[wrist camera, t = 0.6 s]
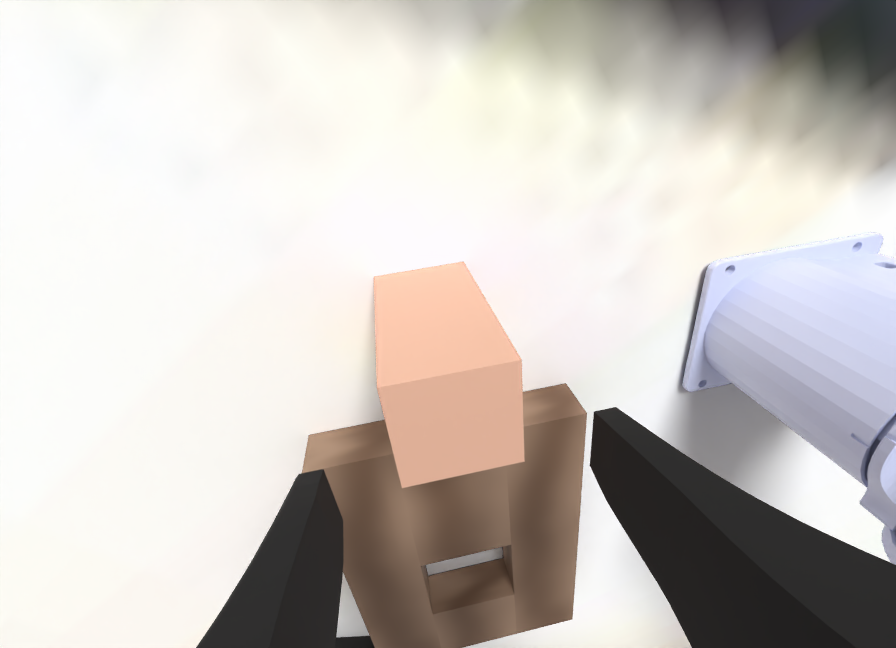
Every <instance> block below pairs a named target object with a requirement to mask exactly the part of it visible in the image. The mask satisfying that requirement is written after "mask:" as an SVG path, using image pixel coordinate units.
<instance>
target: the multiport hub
mask: <svg viewBox="0 0 896 648" xmlns="http://www.w3.org/2000/svg"><path fill="white" fill-rule="evenodd" d="M335 648H375V647H374V644H373V642H372V640H371V637H370V636H359V637H340V638H336V643H335Z"/></svg>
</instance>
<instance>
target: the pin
mask: <svg viewBox="0 0 896 648" xmlns="http://www.w3.org/2000/svg"><path fill="white" fill-rule="evenodd" d="M374 301H375V337H376V374H377V390H378V394H379V398H380V402H381V406H382V410H383V414H384V418H385V422H386V426H387V430H388V434H389V438H390V442H391V446H392V450H393V454H394V458H395V462H396V466H397V470H398V474H399V478H400V482H401V486H402V488H405V487H410V486H414V485H419V484H424V483H428V482H433V481H437V480H442V479H447V478H451V477H456V476H460V475H465V474H469V473H474V472H479V471H483V470H488V469H492V468H497V467H502V466H506V465H511V464H515V463H520V462H525V460H524V426H523V392H522V360H521V358H520V356H519V355H518V353H517V351H516V350H515V348H514V346H513V344H512V343H511V341H510V339H509V338H508V336H507V334H506V333H505V331H504V329H503V328H502V326H501V324H500V322H499V321H498V319H497V317H496V316H495V314H494V312H493V311H492V309H491V307H490V306H489V304H488V302H487V301H486V299H485V297H484V295H483V294H482V292H481V290H480V289H479V287H478V285H477V284H476V282H475V280H474V279H473V277H472V275H471V273H470V272H469V270H468V268H467V267H466V265H465V263H464V262H458V263H452V264H446V265H440V266H434V267H428V268H422V269H417V270H411V271H405V272H399V273H393V274H387V275H381V276H375V277H374Z"/></svg>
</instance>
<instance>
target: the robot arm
mask: <svg viewBox="0 0 896 648" xmlns="http://www.w3.org/2000/svg"><path fill="white" fill-rule="evenodd" d="M882 242H883V236H882V235H881V234H878V233H874V232H871V233H865V234H859V235H854V236H848V237H843V238H837V239H831V240H826V241H820V242H815V243H809V244H804V245H798V246H792V247H787V248H781V249H776V250H770V251H764V252H759V253H753V254H748V255H742V256H736V257H731V258H725V259H720V260H716V261H713V262H712V263H711V264H710V265H709V266H708V268H707V270H706V274H705V279H704V284H703V288H702V293H701V298H700V303H699V307H698V312H697V317H696V321H695V326H694V331H693V336H692V340H691V345H690V350H689V355H688V359H687V364H686V369H685V373H684V378H683V383H682V386H683V387H684V388H685V389H686V390H687V391H689V392H693V391H698V390H703V389H707V388H712V387H717V386H722V385H726V384H731V383H733V384H734V385H735V386H736V387H738V388H739V389H740V390H742V391H743V392H744V393H746V394H747V395H748V396H749V397H751V398H752V399H753V400H755V401H756V402H757V403H758V404H760V405H761V406H762V407H764V408H765V409H766V410H767V411H769V412H770V413H771V414H773V415H774V416H775V417H776V418H778V419H779V420H780V421H782V422H783V423H784V424H786V425H787V426H788V427H789V428H791V429H792V430H793V431H795V432H796V433H797V434H798V435H800V436H801V437H802V438H804V439H805V440H806V441H807V442H809V443H810V444H811V445H813V446H814V447H815V448H817V449H818V450H819V451H820V452H822V453H823V454H824V455H826V456H827V457H828V458H829V459H831V460H832V461H833V462H835V463H836V464H837V465H838V466H840V467H841V468H842V469H844V470H845V471H846V472H847V473H849V474H850V475H851V476H853V477H854V478H855V479H857V480H858V481H859V482H860V483H862V484H863V485H864V486H866V487H867V491H866V492H865V494H864V496H863V498H862V499H861V500H860V504H861V505H862V506H863V507H864V508H865V509H867V510H868V511H869V512H870V513H872V514H873V515H874V516H875V517H876V518H878V519H879V520H880V521H881V522H883V523H884V524H885V526H884V528H883V530H882V543H883V546H884V550H885V552H886V554H887V556H888V558H889V560H890V562H891V563H890V562H888V561H885V560H883V559H881V558H878V557H876V556H874V555H871V554H869V553H867V552H864V551H862V550H860V549H858V548H856V547H854V546H851V545H849V544H847V543H845V542H843V541H841V540H838V539H836V538H834V537H832V536H830V535H828V534H825V533H823V532H821V531H819V530H817V529H815V528H813V527H811V526H809V525H807V524H805V523H803V522H801V521H799V520H797V519H795V518H793V517H791V516H789V515H787V514H785V513H783V512H782V511H780V510H778V509H776V508H774V507H772V506H770V505H768V504H766V503H765V502H763V501H761V500H759V499H757V498H755V497H754V496H752V495H750V494H748V493H746V492H745V491H743V490H741V489H740V488H738V487H736V486H735V485H733V484H731V483H730V482H728V481H726V480H724V479H723V478H721V477H719V476H718V475H716V474H714V473H713V472H711V471H710V470H708V469H706V468H705V467H703V466H702V465H700V464H699V463H697V462H695V461H694V460H692V459H691V458H689V457H688V456H686V455H685V454H683V453H682V452H680V451H679V450H677V449H676V448H674V447H673V446H671V445H670V444H668V443H667V442H665V441H664V440H662V439H661V438H659V437H658V436H657V435H655V434H654V433H652V432H651V431H649V430H648V429H646V428H645V427H644V426H642V425H641V424H639V423H638V422H636V421H635V420H634V419H632V418H631V417H629V416H628V415H626V414H625V413H623V412H622V411H621V410H619V409H618V408H616V407H614V408H609V409H605V410H600V411H595V412H594V419H593V432H592V445H591V458H590V466H591V469H592V471H593V473H594V475H595V477H596V479H597V482H598V484H599V486H600V488H601V490H602V492H603V494H604V496H605V498H606V500H607V502H608V504H609V505H610V507H611V509H612V510H613V512H614V514H615V515H616V517H617V519H618V520H619V522H620V523H621V525H622V527H623V528H624V530H625V532H626V533H627V535H628V536H629V538H630V540H631V541H632V543H633V544H634V546H635V548H636V549H637V551H638V552H639V554H640V556H641V557H642V559H643V560H644V562H645V564H646V565H647V567H648V568H649V570H650V572H651V573H652V575H653V576H654V578H655V580H656V581H657V583H658V584H659V586H660V588H661V590H662V591H663V593H664V595H665V597H666V598H667V600H668V602H669V604H670V605H671V607H672V609H673V611H674V613H675V615H676V617H677V619H678V621H679V623H680V625H681V627H682V629H683V631H684V633H685V635H686V637H687V639H688V641H689V642H690V644H691V646H692V648H896V259H895V258H892V257H888V256H885V255H882V254H878V252H879V250H880V247H881V245H882ZM728 266H729V267H728ZM727 267H728V269H727V270H726V268H727ZM725 270H726V271H725ZM343 563H344V538H343V518H342V516H341V513H340V510H339V508H338V505H337V503H336V500H335V497H334V495H333V492H332V490H331V487H330V484H329V482H328V479H327V477H326V474H325V471H324V469H320V470H316V471H311V472H306V473H301V474H299V475H298V476H297V477H296V479H295V481H294V483H293V485H292V487H291V489H290V491H289V493H288V495H287V497H286V499H285V501H284V503H283V505H282V507H281V509H280V511H279V513H278V514H277V516H276V518H275V520H274V522H273V524H272V526H271V528H270V529H269V531H268V533H267V535H266V537H265V538H264V540H263V542H262V544H261V545H260V547H259V549H258V551H257V552H256V554H255V556H254V558H253V560H252V561H251V563H250V565H249V566H248V568H247V570H246V571H245V573H244V575H243V576H242V578H241V580H240V581H239V583H238V584H237V586H236V588H235V589H234V591H233V592H232V594H231V596H230V597H229V599H228V601H227V602H226V604H225V605H224V607H223V609H222V610H221V612H220V613H219V615H218V616H217V618H216V619H215V621H214V622H213V624H212V625H211V627H210V628H209V630H208V631H207V633H206V634H205V636H204V637H203V639H202V640H201V641H200V643H199V644H198V646H197V647H196V648H335V643H336V633H337V623H338V614H339V604H340V594H341V584H342V574H343Z"/></svg>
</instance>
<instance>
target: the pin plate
mask: <svg viewBox="0 0 896 648" xmlns="http://www.w3.org/2000/svg"><path fill="white" fill-rule="evenodd" d="M586 419H587V413H586V411H585V410H584V409H583V407H582V406H581V404H580V403H579V401H578V400H577V398H576V397H575V396H574V394H573V393H572V391H571V390H570V388H569V387H568V386H567V384H561V385H556V386H551V387H546V388H541V389H536V390H531V391H526V392H523V426H524V460H525V462H520V463H515V464H511V465H506V466H502V467H497V468H492V469H488V470H483V471H479V472H474V473H469V474H465V475H460V476H456V477H451V478H447V479H442V480H437V481H433V482H428V483H424V484H419V485H414V486H410V487H405V488H402V486H401V482H400V478H399V474H398V470H397V466H396V462H395V458H394V454H393V450H392V446H391V442H390V438H389V434H388V430H387V426H386V422H385V420H382V421H377V422H372V423H367V424H362V425H357V426H352V427H347V428H342V429H337V430H332V431H327V432H322V433H317V434H312V435H309V437H308V442H307V448H306V453H305V459H304V464H303V470H302V473H306V472H311V471H316V470H320V469H324V471H325V474H326V477H327V479H328V482H329V484H330V487H331V490H332V492H333V495H334V497H335V500H336V503H337V505H338V508H339V510H340V513H341V516H342V518H343V538H344V563H343V573H344V575H345V577H346V580H347V582H348V585H349V587H350V589H351V592H352V594H353V597H354V599H355V601H356V604H357V606H358V608H359V611H360V613H361V616H362V618H363V620H364V623H365V625H366V628H367V630H368V632H369V635H370V637H371V640H372V642H373V644H374V647H375V648H462V647H466V646H470V645H474V644H478V643H482V642H486V641H490V640H493V639H497V638H501V637H505V636H509V635H513V634H517V633H521V632H525V631H529V630H532V629H536V628H540V627H544V626H548V625H552V624H556V623H560V622H564V621H567V620H571V619H572V616H573V602H574V588H575V574H576V560H577V546H578V532H579V518H580V503H581V489H582V475H583V461H584V447H585V433H586ZM499 547H503V558H502V559H498V560H494V561H489V562H485V563H481V564H477V565H473V566H468V567H464V568H460V569H456V570H452V571H447V572H443V573H439V574H435V575H431V576H428V574H427V570H426V566H425V565H427V564H431V563H435V562H440V561H444V560H448V559H452V558H457V557H461V556H465V555H469V554H474V553H478V552H482V551H486V550H491V549H495V548H499Z"/></svg>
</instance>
